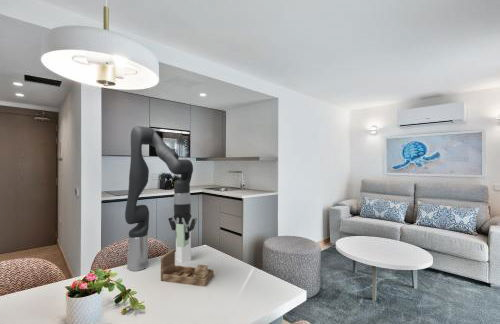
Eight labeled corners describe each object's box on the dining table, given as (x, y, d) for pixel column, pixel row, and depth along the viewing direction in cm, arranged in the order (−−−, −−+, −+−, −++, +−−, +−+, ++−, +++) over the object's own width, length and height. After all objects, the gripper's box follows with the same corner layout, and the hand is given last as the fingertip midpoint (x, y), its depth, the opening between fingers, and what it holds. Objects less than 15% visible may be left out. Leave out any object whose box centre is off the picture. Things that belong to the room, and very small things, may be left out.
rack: (160, 283, 116) (160, 257, 116) (173, 273, 126) (173, 249, 126) (204, 289, 110) (204, 261, 110) (213, 278, 121) (213, 253, 121)
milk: (181, 265, 136) (181, 225, 136) (175, 262, 140) (175, 223, 140) (191, 262, 140) (190, 223, 140) (185, 259, 144) (184, 221, 144)
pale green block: (176, 246, 113) (176, 224, 113) (182, 243, 118) (181, 222, 118) (183, 247, 112) (183, 225, 112) (188, 243, 117) (188, 222, 117)
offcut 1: (194, 275, 114) (194, 269, 114) (198, 271, 119) (198, 264, 119) (204, 276, 114) (204, 269, 114) (207, 271, 119) (207, 265, 119)
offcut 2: (193, 282, 114) (193, 275, 114) (199, 276, 120) (199, 270, 120) (203, 283, 113) (203, 277, 113) (208, 277, 119) (208, 271, 119)
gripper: (164, 203, 113) (164, 241, 113) (192, 204, 110) (193, 243, 110) (172, 200, 120) (173, 236, 120) (199, 201, 117) (200, 238, 117)
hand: (182, 239), depth 115 cm, fingers closed on pale green block, 3 cm apart
